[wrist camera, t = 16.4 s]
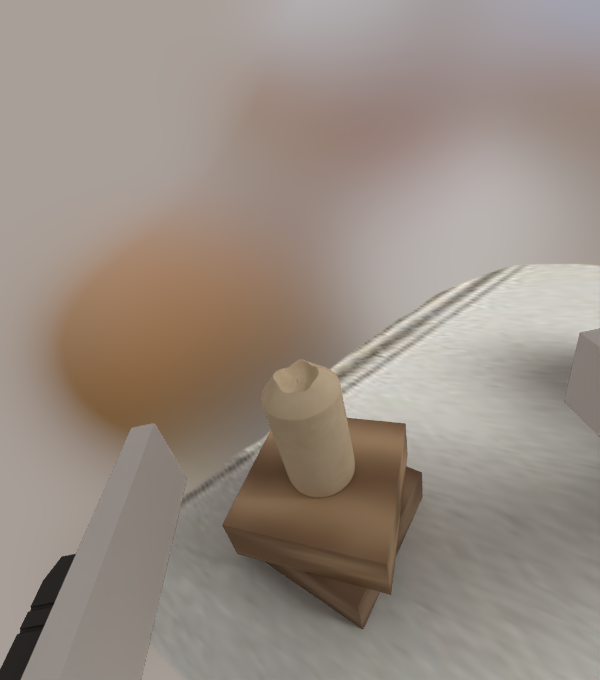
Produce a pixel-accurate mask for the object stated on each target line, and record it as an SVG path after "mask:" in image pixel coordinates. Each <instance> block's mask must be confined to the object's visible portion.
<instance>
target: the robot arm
mask: <svg viewBox="0 0 600 680" xmlns="http://www.w3.org/2000/svg"><path fill="white" fill-rule="evenodd" d="M564 402H565V403H566V404H567V405H568V406H569V407H570V408H571V409H572V410H573V411H574V412H575V413H576V414H577V415H578V416H579V417H580V418H581V419H582V420H583V421H584V422H585V423H586V424H587V425H588V426H589V427H590V428H591V429H592V430H593V431H594V432H595V433H596V434H597V435H598V436H599V437H600V329H595V330H591V331H586V332H581V333H580V334H579V338H578V343H577V347H576V352H575V356H574V360H573V365H572V369H571V374H570V378H569V383H568V387H567V391H566V396H565V400H564ZM186 481H187V477H186V475H185V473H184V472H183V470H182V468H181V467H180V465H179V464H178V462H177V460H176V458H175V457H174V455H173V453H172V452H171V450H170V448H169V447H168V445H167V443H166V442H165V440H164V438H163V437H162V435H161V433H160V432H159V430H158V428H157V427H156V425H155V423H153V424H148V425H144V426H139V427H134V428H131V430H130V432H129V435H128V437H127V439H126V441H125V443H124V446H123V448H122V450H121V453H120V455H119V457H118V459H117V462H116V464H115V466H114V469H113V471H112V473H111V476H110V478H109V480H108V482H107V484H106V487H105V489H104V491H103V494H102V496H101V498H100V500H99V503H98V505H97V507H96V509H95V512H94V514H93V516H92V519H91V521H90V523H89V525H88V528H87V530H86V532H85V535H84V537H83V539H82V541H81V544H80V546H79V548H78V550H77V553H76V554H74V555H68V556H63V557H61V558H60V560H59V561H58V562H57V564H56V565H55V566H54V568H53V569H52V570H51V571H50V573H49V574H48V575H47V576H46V578H45V579H44V580H43V582H42V584H41V586H40V588H39V590H38V592H37V595H36V597H35V599H34V601H33V603H32V605H31V611H30V612H28V613H27V615H26V617H25V619H24V621H23V623H22V626H21V628H20V634H17V636H16V638H15V640H14V642H13V644H12V646H11V648H10V650H9V653H8V654H7V657H6V659H5V661H4V663H3V665H2V667H1V669H0V680H141V678H142V674H143V670H144V666H145V661H146V657H147V652H148V648H149V644H150V639H151V635H152V630H153V626H154V622H155V617H156V613H157V609H158V604H159V600H160V595H161V591H162V587H163V582H164V578H165V573H166V569H167V565H168V560H169V556H170V551H171V547H172V543H173V538H174V534H175V529H176V525H177V521H178V516H179V512H180V507H181V503H182V499H183V494H184V490H185V485H186Z"/></svg>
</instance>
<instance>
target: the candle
mask: <svg viewBox="0 0 600 680" xmlns="http://www.w3.org/2000/svg"><path fill="white" fill-rule="evenodd" d="M261 403H262V406H263V409H264V412H265V415H266V417H267V420H268V423H269V425H270V428H271V431H272V434H273V436H274V439H275V442H276V445H277V447H278V450H279V453H280V455H281V458H282V461H283V464H284V466H285V469H286V472H287V474H288V477H289V479H290V481H291V483H292V485H293V486H294V487H295V488H296V489H297V490H298V491H299V492H300V493H302V494H304V495H306V496H309V497H314V498H323V497H328V496H332V495H334V494H336V493H338V492H340V491H341V490H343V489H344V488H345V487H346V486H347V485H348V484H349V482H350V481H351V479H352V477H353V475H354V471H355V458H354V453H353V448H352V442H351V437H350V432H349V427H348V422H347V417H346V412H345V407H344V402H343V396H342V391H341V386H340V382H339V379H338V377H337V376H336V374H335V373H334V372H332V371H331V370H329V369H328V368H325V367H322V366H320V365H316V364H313V363H310V362H307V361H306V360H298V361H296V362H295V363H293V364H292V365H291V366H289V367H287V368H285V369H280V370H278V371H276V372H275V373H274V374H273V376H272V378H271V379H270V380H269V382H268V383H267V384H266V386H265V387H264V389H263V392H262V395H261Z"/></svg>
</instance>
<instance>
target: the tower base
mask: <svg viewBox="0 0 600 680" xmlns="http://www.w3.org/2000/svg"><path fill="white" fill-rule="evenodd" d="M421 499H422V472H419V471H416V470H414V469H411V468H409V467H406V470H405V479H404V488H403V496H402V505H401V513H400V522H399V530H398V539H397V547H396V555H397V552H398V550H399V548H400V546H401V544H402V541H403V539H404V537H405V535H406V532H407V530H408V528H409V526H410V523H411V521H412V519H413V517H414V514H415V512H416V510H417V508H418V506H419V503H420V501H421ZM395 557H396V556H395ZM265 562H266V561H265ZM266 563H268V564H269V565H271V566H272V567H274V568H275V569H276V570H278V571H279V572H281V573H282V574H284V575H285V576H287V577H288V578H289V579H291V580H292V581H294V582H295V583H297V584H298V585H300V586H301V587H302V588H304V589H305V590H307V591H308V592H310V593H311V594H313V595H314V596H316V597H317V598H318V599H320V600H321V601H323V602H324V603H326V604H327V605H329V606H330V607H331V608H333V609H334V610H336V611H337V612H339V613H340V614H342V615H343V616H344V617H346V618H347V619H349V620H350V621H352V622H353V623H355V624H356V625H357V626H359V627H360V628H362V629H363V628H364V626H365V624H366V622H367V620H368V617H369V615H370V613H371V611H372V608H373V606H374V604H375V602H376V599H377V597H378V595H379V593H380V592H379V591H375V590H371V589H367V588H364V587H360V586H356V585H352V584H349V583H345V582H341V581H337V580H334V579H330V578H326V577H323V576H319V575H315V574H311V573H308V572H304V571H300V570H296V569H293V568H289V567H285V566H281V565H278V564H274V563H270V562H266Z"/></svg>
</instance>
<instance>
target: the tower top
mask: <svg viewBox="0 0 600 680" xmlns="http://www.w3.org/2000/svg"><path fill="white" fill-rule="evenodd" d="M347 422H348V427H349V432H350V437H351V442H352V448H353V453H354V458H355V471H354V475H353V477H352V479H351V481H350V482H349V484H348V485H347V486H346V487H345V488H344V489H343V490H341V491H340V492H338V493H336V494H334V495H332V496H328V497H323V498H314V497H309V496H306V495H304V494H302V493H300V492H299V491H298V490H297V489H296V488H295V487H294V486H293V485H292V483H291V481H290V479H289V477H288V474H287V472H286V469H285V466H284V464H283V461H282V458H281V455H280V453H279V450H278V447H277V445H276V442H275V439H274V436H273V434H272V431H270V433H269V435H268V437H267V439H266V441H265V443H264V445H263V447H262V448H261V450H260V452H259V454H258V456H257V458H256V460H255V462H254V464H253V466H252V468H251V470H250V472H249V474H248V476H247V478H246V480H245V482H244V484H243V486H242V488H241V490H240V492H239V494H238V496H237V497H236V499H235V501H234V503H233V505H232V507H231V509H230V511H229V513H228V515H227V517H226V519H225V521H224V523H223V527H224V529H225V531H226V533H227V535H228V537H229V539H230V540H231V542H232V544H233V546H234V548H235V550H236V552H237V554H240V555H244V556H248V557H251V558H255V559H259V560H263V561H266V562H270V563H274V564H278V565H281V566H285V567H289V568H293V569H296V570H300V571H304V572H308V573H311V574H315V575H319V576H323V577H326V578H330V579H334V580H337V581H341V582H345V583H349V584H352V585H356V586H360V587H364V588H367V589H371V590H375V591H379V592H382V593H386V594H390V595H391V590H392V581H393V573H394V564H395V556H396V547H397V539H398V530H399V522H400V513H401V505H402V496H403V488H404V479H405V470H406V462H407V440H406V424H404V423H394V422H383V421H373V420H363V419H353V418H347Z"/></svg>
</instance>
